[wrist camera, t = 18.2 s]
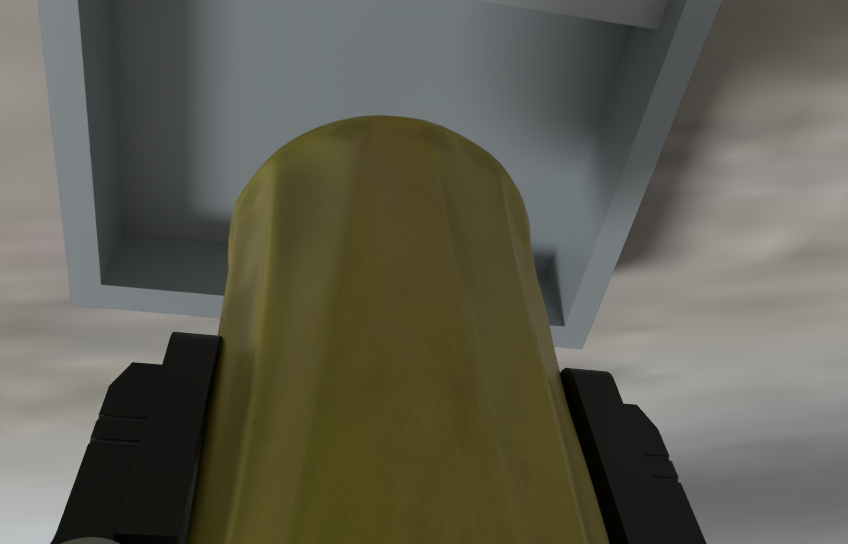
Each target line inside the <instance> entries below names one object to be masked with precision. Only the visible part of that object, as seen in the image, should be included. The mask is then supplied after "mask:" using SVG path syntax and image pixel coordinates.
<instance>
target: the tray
mask: <svg viewBox="0 0 848 544" xmlns="http://www.w3.org/2000/svg"><path fill="white" fill-rule="evenodd" d="M721 2H722V0H38V7H39V16H40V25H41V34H42V43H43V52H44V61H45V70H46V79H47V88H48V97H49V106H50V115H51V124H52V133H53V142H54V151H55V160H56V169H57V178H58V186H59V195H60V204H61V213H62V222H63V231H64V240H65V249H66V258H67V267H68V276H69V285H70V294H71V303H72V305H73V306H84V307H96V308H108V309H119V310H131V311H143V312H155V313H166V314H178V315H190V316H202V317H213V318H221V312H222V306H223V301H224V295H225V289H226V283H227V276H228V270H229V266H228V243H229V233H230V225H231V219H232V214H233V210H234V206H235V203H236V201H237V199H238V197H239V196H240V194H241V193H242V191H243V190H244V188H245V187H246V185H247V184H248V183H249V181H250V180H251V179H252V177H253V176H254V175H255V173H256V172H257V171H258V170H259V169H260V168H261V166H262V165H263V164H264V163H265V162H266V161H267V160H268V159H269V158H270V157H271V156H272V155H273V154H274V153H275V152H276V151H277V150H278V149H279V148H281V147H282V146H284V145H285V144H287V143H288V142H290V141H291V140H293V139H294V138H296V137H298V136H300V135H302V134H304V133H306V132H308V131H310V130H312V129H314V128H316V127H319V126H322V125H326V124H329V123H332V122H335V121H338V120H343V119H348V118H353V117H358V116H371V115H388V116H403V117H409V118H416V119H423V120H426V121H429V122H432V123H435V124H438V125H441V126H443V127H445V128H447V129H450V130H452V131H454V132H456V133H458V134H460V135H462V136H463V137H465V138H467V139H469V140H470V141H472V142H474V143H476V144H477V145H478V146H480V147H481V148H483V149H484V150H486V151H487V152H488V153H490V154H491V155H492V156H493V157H494V158H495V159H497V160H498V161H499V162H500V163H501V164H502V166H503V167H504V168H505V170H506V171H507V173H508V174H509V176H510V177H511V179H512V180H513V182H514V184H515V185H516V187H517V188H518V190H519V193H520V195H521V197H522V199H523V201H524V204H525V207H526V211H527V214H528V218H529V223H530V237H531V247H532V253H533V259H534V264H535V270H536V275H537V280H538V283H539V286H540V289H541V293H542V296H543V300H544V304H545V308H546V312H547V316H548V321H549V325H550V330H551V334H552V339H553V344H554V347H565V348H577V349H582V348H583V346H584V343H585V341H586V338H587V336H588V333H589V331H590V328H591V326H592V323H593V321H594V318H595V316H596V313H597V311H598V308H599V306H600V303H601V301H602V298H603V296H604V293H605V291H606V288H607V286H608V284H609V281H610V279H611V276H612V274H613V271H614V269H615V266H616V264H617V261H618V259H619V256H620V254H621V251H622V249H623V246H624V244H625V241H626V239H627V236H628V234H629V231H630V229H631V226H632V224H633V221H634V219H635V216H636V214H637V211H638V209H639V206H640V204H641V201H642V199H643V196H644V194H645V191H646V189H647V186H648V184H649V181H650V179H651V176H652V174H653V171H654V169H655V166H656V164H657V161H658V159H659V156H660V154H661V152H662V149H663V147H664V144H665V142H666V139H667V137H668V134H669V132H670V129H671V127H672V124H673V122H674V119H675V117H676V114H677V112H678V109H679V107H680V104H681V102H682V99H683V97H684V94H685V92H686V89H687V87H688V84H689V82H690V79H691V77H692V74H693V72H694V69H695V67H696V64H697V62H698V59H699V57H700V54H701V52H702V49H703V47H704V44H705V42H706V39H707V37H708V34H709V32H710V29H711V27H712V25H713V22H714V20H715V17H716V15H717V12H718V10H719V7H720V5H721Z"/></svg>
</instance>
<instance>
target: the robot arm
mask: <svg viewBox="0 0 848 544" xmlns="http://www.w3.org/2000/svg"><path fill="white" fill-rule="evenodd" d="M220 339H221V336H215V335H204V334H193V333H182V332H173V333H172V335H171V337H170V340H169V344H168V347H167V350H166V354H165V357H164V361H163V364H162V365H159V364H147V363H134V362H132V363H131V364H130V365H129V366H128V367H127V368H126V369H125V370H124V371H123V373H122V374H121V375H120V376H119V377H118V378H117V379H116V380H115V381H114V382H113V383H112V384H111V385H110V386H109V388H108V391H107V393H106V396H105V399H104V402H103V405H102V407H101V410H100V413H99V419H98V420H97V421H96V424H95V427H94V430H93V432H92V435H91V440H90V444H88V446H87V449H86V452H85V455H84V457H83V460H82V463H81V466H80V468H79V471H78V474H77V477H76V480H75V482H74V485H73V488H72V491H71V493H70V496H69V499H68V502H67V505H66V507H65V510H64V513H63V516H62V518H61V521H60V524H59V527H58V530H57V532H56V534H55V536H54V539H53V540H52V542H51V543H50V544H186V539H187V533H188V526H189V520H190V513H191V507H192V500H193V494H194V488H195V481H196V475H197V468H198V462H199V456H200V449H201V443H202V437H203V430H204V424H205V418H206V411H207V406H208V401H209V396H210V391H211V385H212V380H213V375H214V370H215V365H216V360H217V355H218V349H219V344H220ZM560 375H561V379H562V384H563V388H564V393H565V397H566V401H567V404H568V408H569V411H570V415H571V418H572V421H573V424H574V427H575V430H576V433H577V437H578V440H579V443H580V446H581V449H582V452H583V455H584V458H585V461H586V465H587V468H588V471H589V474H590V478H591V481H592V484H593V488H594V491H595V494H596V498H597V501H598V505H599V508H600V512H601V515H602V518H603V522H604V525H605V529H606V532H607V536H608V540H609V543H610V544H706V542H705V539H704V537H703V535H702V532H701V530H700V527H699V525H698V523H697V520H696V518H695V516H694V513H693V511H692V508H691V506H690V504H689V501H688V499H687V497H686V494H685V492H684V490H683V487H682V485H681V483H678V475H677V473H676V471H675V468H674V466H673V463H672V461H669V454H668V452H667V449H666V447H665V445H664V442H663V440H662V437H661V435H660V433H659V430H658V429H657V427H656V426H655V425H654V424H653V423H652V422H651V421H650V419H649V418H648V417H647V416H646V415H645V414H644V413H643V411H642V410H641V409H640V408H639V407H638V406H637V405H633V404H623V401H622V399H621V396H620V394H619V391H618V388H617V386H616V383H615V381H614V379H613V377H612V375H611V374H610V373H609V372H606V371H595V370H584V369H573V368H565V369H563V370H562V371H561V372H560Z"/></svg>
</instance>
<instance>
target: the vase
mask: <svg viewBox="0 0 848 544" xmlns="http://www.w3.org/2000/svg"><path fill="white" fill-rule="evenodd" d="M228 266H229V270H228V276H227V283H226V289H225V295H224V301H223V306H222V312H221V319H220V325H219V331H218V336H221V339H220V344H219V349H218V355H217V360H216V365H215V370H214V375H213V380H212V385H211V391H210V396H209V401H208V406H207V411H206V418H205V424H204V430H203V437H202V443H201V449H200V456H199V462H198V468H197V475H196V481H195V488H194V494H193V500H192V507H191V513H190V520H189V526H188V533H187V539H186V544H610V543H609V540H608V536H607V532H606V529H605V525H604V522H603V518H602V515H601V512H600V508H599V505H598V501H597V498H596V494H595V491H594V488H593V484H592V481H591V478H590V474H589V471H588V468H587V465H586V461H585V458H584V455H583V452H582V449H581V446H580V443H579V440H578V437H577V433H576V430H575V427H574V424H573V421H572V418H571V415H570V411H569V408H568V404H567V401H566V397H565V393H564V388H563V384H562V379H561V375H560V370H559V366H558V362H557V358H556V354H555V350H554V344H553V339H552V334H551V330H550V325H549V321H548V316H547V312H546V308H545V304H544V300H543V296H542V293H541V289H540V286H539V283H538V280H537V275H536V270H535V264H534V259H533V253H532V247H531V237H530V223H529V218H528V214H527V211H526V207H525V204H524V201H523V199H522V197H521V195H520V193H519V190H518V188H517V187H516V185H515V184H514V182H513V180H512V179H511V177H510V176H509V174H508V173H507V171H506V170H505V168H504V167H503V166H502V164H501V163H500V162H499V161H498V160H497V159H495V158H494V157H493V156H492V155H491V154H490V153H488V152H487V151H486V150H484V149H483V148H481V147H480V146H478V145H477V144H476V143H474V142H472V141H470V140H469V139H467V138H465V137H463V136H462V135H460V134H458V133H456V132H454V131H452V130H450V129H447V128H445V127H443V126H441V125H438V124H435V123H432V122H429V121H426V120H423V119H416V118H409V117H403V116H388V115H371V116H358V117H353V118H348V119H343V120H338V121H335V122H332V123H329V124H326V125H322V126H319V127H316V128H314V129H312V130H310V131H308V132H306V133H304V134H302V135H300V136H298V137H296V138H294V139H293V140H291V141H290V142H288V143H287V144H285V145H284V146H282V147H281V148H279V149H278V150H277V151H276V152H275V153H274V154H273V155H272V156H271V157H270V158H269V159H268V160H267V161H266V162H265V163H264V164H263V165H262V166H261V168H260V169H259V170H258V171H257V172H256V173H255V175H254V176H253V177H252V179H251V180H250V181H249V183H248V184H247V185H246V187H245V188H244V190H243V191H242V193H241V194H240V196H239V197H238V199H237V201H236V203H235V206H234V210H233V214H232V219H231V225H230V233H229V243H228Z"/></svg>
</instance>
